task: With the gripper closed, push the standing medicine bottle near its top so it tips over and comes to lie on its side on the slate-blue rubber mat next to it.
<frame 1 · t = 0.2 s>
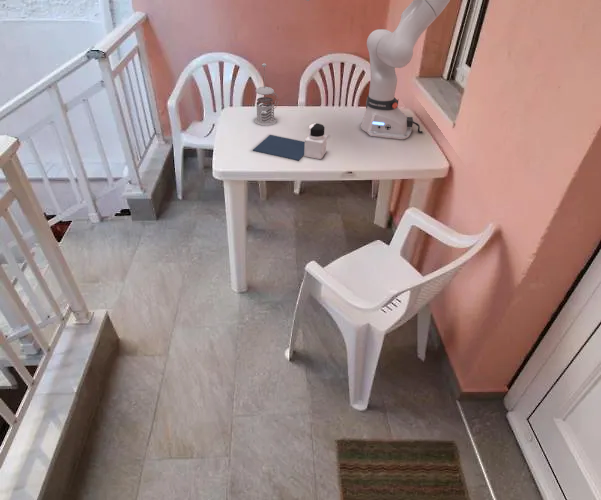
french press: (267, 121, 190), on the table
medicine bottle: (315, 154, 165), on the table
mat: (283, 147, 169), on the table
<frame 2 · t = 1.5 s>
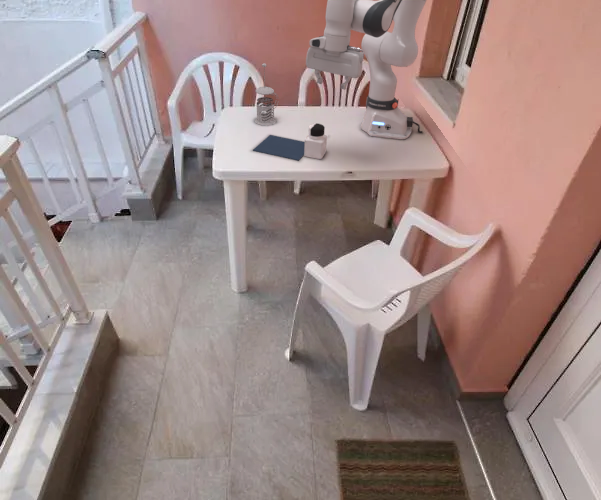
hand: (331, 86, 146), 27 cm above the table, tool pointing down, fingers open, 8 cm apart
nothing on the table moved.
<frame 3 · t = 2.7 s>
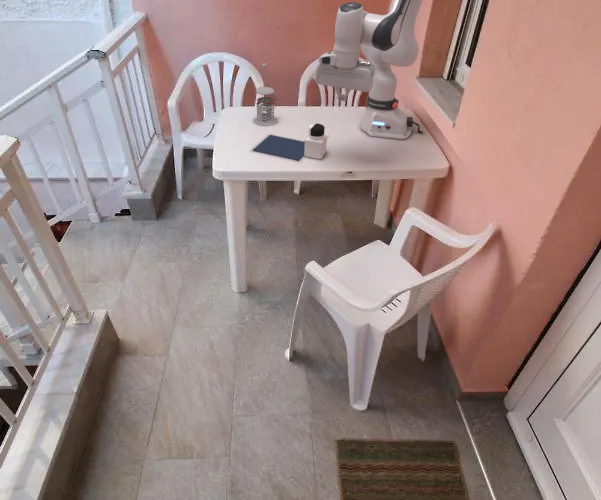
hand: (341, 100, 148), 23 cm above the table, tool pointing down, fingers closed
nothing on the table moved.
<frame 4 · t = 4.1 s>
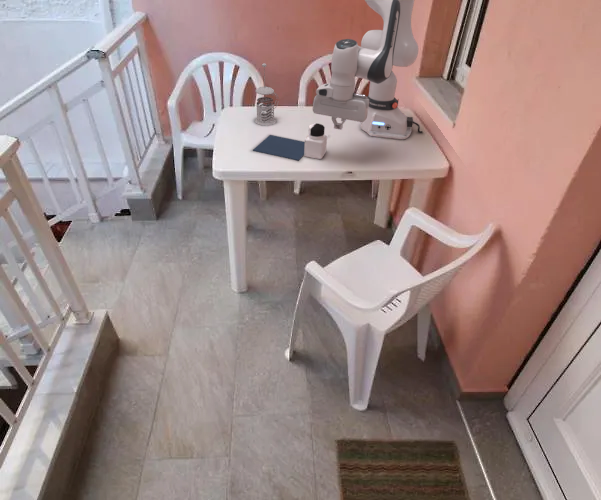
hand: (338, 128, 155), 12 cm above the table, tool pointing down, fingers closed
nothing on the table moved.
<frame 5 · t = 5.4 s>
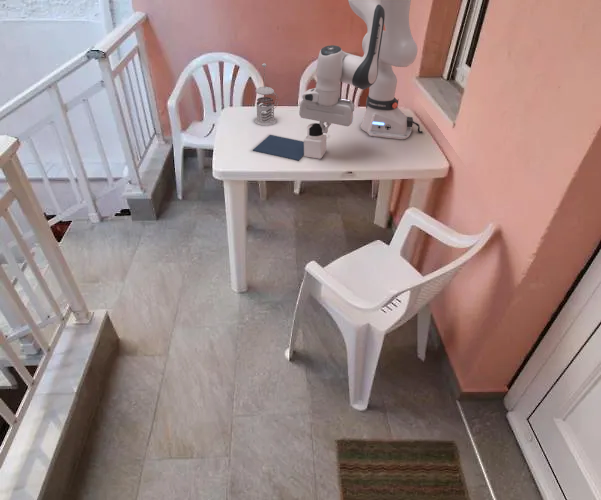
hand: (324, 132, 157), 10 cm above the table, tool pointing down, fingers closed
medicine bottle: (315, 154, 165), on the table, touching gripper
everything else where it was.
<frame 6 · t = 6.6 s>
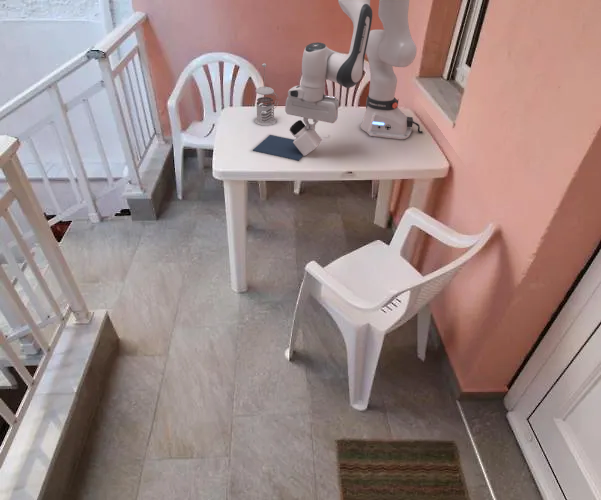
hand: (310, 129, 159), 10 cm above the table, tool pointing down, fingers closed
medicine bottle: (313, 148, 163), point 2 cm above the table, touching gripper, mat
everything else where it was.
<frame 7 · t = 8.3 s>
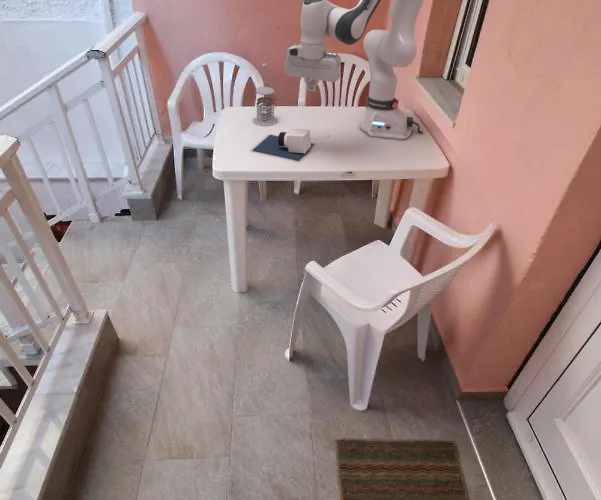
hand: (311, 90, 153), 24 cm above the table, tool pointing down, fingers closed
medicine bottle: (307, 141, 163), point 5 cm above the table, touching mat
everything else where it was.
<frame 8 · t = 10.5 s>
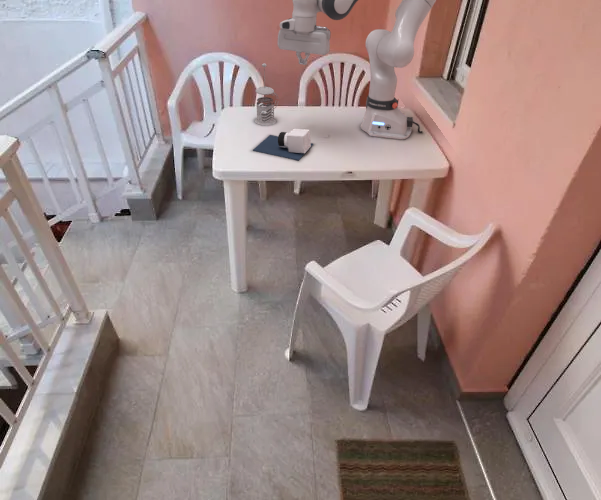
hand: (302, 64, 160), 29 cm above the table, tool pointing down, fingers closed
nothing on the table moved.
at the end: medicine bottle tilted 97°; medicine bottle inside the target area (7.8 cm from its centre), point 4.9 cm above the table; the gripper is holding nothing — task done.
